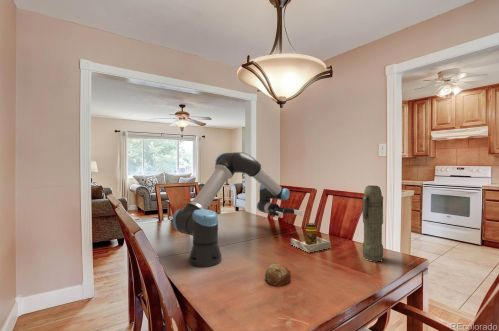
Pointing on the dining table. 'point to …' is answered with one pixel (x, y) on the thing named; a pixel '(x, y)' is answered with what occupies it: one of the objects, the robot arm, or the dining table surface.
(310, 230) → the condiment
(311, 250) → the u rest
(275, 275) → the bread roll
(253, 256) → the dining table surface
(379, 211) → the thermos
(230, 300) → the dining table surface
